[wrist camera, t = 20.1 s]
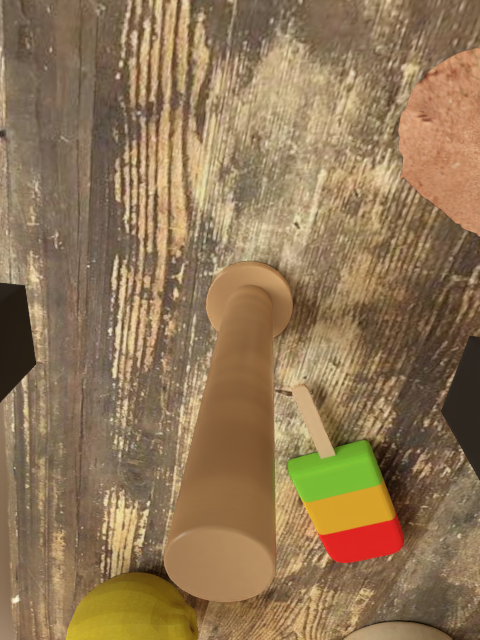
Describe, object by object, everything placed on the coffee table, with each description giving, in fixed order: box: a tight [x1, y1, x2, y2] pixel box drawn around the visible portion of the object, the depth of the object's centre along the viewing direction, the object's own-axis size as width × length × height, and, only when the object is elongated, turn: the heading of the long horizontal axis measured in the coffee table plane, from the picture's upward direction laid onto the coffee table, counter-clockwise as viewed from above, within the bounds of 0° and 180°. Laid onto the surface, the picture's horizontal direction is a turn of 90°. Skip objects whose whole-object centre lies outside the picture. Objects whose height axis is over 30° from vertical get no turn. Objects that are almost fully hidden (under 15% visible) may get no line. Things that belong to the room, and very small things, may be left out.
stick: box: [164, 261, 293, 602], centre depth 17 cm, size 5×5×16 cm
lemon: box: [66, 572, 199, 640], centre depth 32 cm, size 11×8×8 cm
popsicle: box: [288, 384, 404, 563], centre depth 28 cm, size 6×15×2 cm, turn 23°
